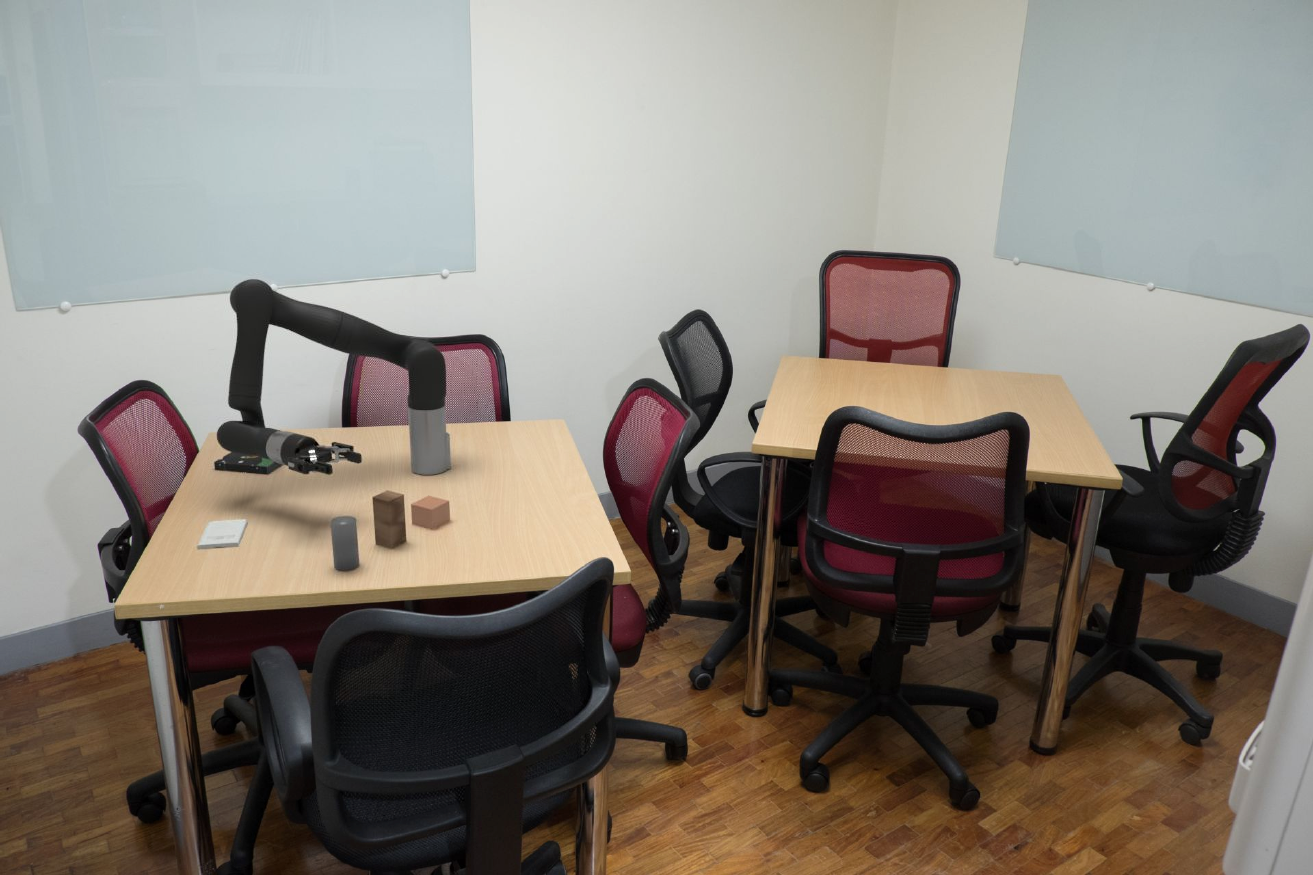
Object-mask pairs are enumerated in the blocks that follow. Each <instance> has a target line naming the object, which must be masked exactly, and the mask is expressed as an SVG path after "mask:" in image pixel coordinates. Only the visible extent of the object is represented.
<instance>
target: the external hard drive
mask: <svg viewBox="0 0 1313 875" xmlns="http://www.w3.org/2000/svg"><path fill="white" fill-rule="evenodd" d="M247 526H248V519H246V518H245V519H244V518H243V519H226V520H212V521H209V522H207V524H206V526H205V529H204V531H203V533H202V535H201V537H200V539H199V541H198V543H197V545H196V548H197V550H204V548H205V550H206V549H208V550H209V549H216V548H217V549H218V548H223V549H224V548H237V547H240V544H241V541H242V539H243V536H244V534H245V531H246V528H247Z"/></svg>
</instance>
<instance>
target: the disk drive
mask: <svg viewBox="0 0 1313 875" xmlns="http://www.w3.org/2000/svg"><path fill="white" fill-rule="evenodd" d="M213 465H214V466H213V467H214V471H221V472H233V473H243V472H244V474H246V473H247V474H255V475H267V476H268V475H270V474H272V473H273V472H275V471H277V470H278V469H279V468H281V467H282V466H283V465H282V464H279V463H277V462H275V461H272V460H268V459H265V458H262V457H259V456H255V455H248V454H240V453H234V452H228V454H225V455H223V457H222V458H221V459H219V458H218V459H217V460H215V461H214V462H213ZM245 472H246V473H245ZM271 472H272V473H271Z"/></svg>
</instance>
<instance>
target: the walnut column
mask: <svg viewBox="0 0 1313 875" xmlns="http://www.w3.org/2000/svg"><path fill="white" fill-rule="evenodd" d="M371 498H372V511H373V514H372V515H373V527H374V539H375V540H374V541H375V545H376V546H380V547H384V548H387V549H390V550H393V549H395V548H396V547H398V546H401V545H403V544H405V543H407V525H406V508H405V494H403V493H399V492H395V491H392V490H390V489H389V490H384V491H383V492H381V493H378V494H376V495H374V496H372V497H371Z"/></svg>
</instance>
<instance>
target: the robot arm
mask: <svg viewBox="0 0 1313 875" xmlns="http://www.w3.org/2000/svg"><path fill="white" fill-rule="evenodd" d="M229 303H230V306H231V308H232V310H233V312H234V313H235V314H236V328H237V330H236V341H235V342H236V343H235V347H234V348H235V349H234V355H233V358H232V364H231V369H230V376H229V384H228V385H229V387H228V395H227V396H228V398H227V404H228V407H229V408H231V409H232V410H235V411H238V412H240V417H241V420H227V421H225V422H223V423H222V424H221V425H220V426H219V427H218V428H217V431H216V440H217V442H218V444H219V446H220V447H221V448H222V449H224V450H225V451H227V452H229V453H231V452H234V453H240V454H248V455H255V456H259V457H262V458H265V459H268V460H272V461H275V462H277V463H279V464H282V466H286V467H287V468H288V470H290V471H292V472H297V473H300V474H302V475H309V474H310V472H312V473H321V474H325V475H328V476H330V475H333V465H332V464H333V463H334V464H335V463H337V464H338V463H339V462H340V461H347V462H351V463H354V464H358V465H359V464H361V463H362V462H363V461H362V460H363V459H362V454H361V453H360V452H356V451H355V449H354V448H355V447H354V445H352V444H351V445H350V444H346V443H341V442H336V441H332V442H331V444H330V445H331V446H326V445H320V444H319V442H318V441H317V440H316V438H314V437H311V436H308V435H304V434H301V433H297V432H292V431H284V430H280V429H276V428H272V427H266V424H265V419H264V414H263V408H262V404H261V401H262V394H263V393H262V392H263V379H264V365H265V363H264V362H265V349H266V343H267V338H268V330H269V327H270V325H271V326H275V327H279V328H281V329H285V330H287V331H290V332H292V333H294V334H297V335H299V336H301V337H303V338H305V339H307V340H310V341H312V342H314V343H316V344H320V345H322V346H323V347H326V348H328V349H332V350H335V351H339V352H341V353H344V354H348V355H353V356H358V357H365V358H373V359H379V360H383V361H385V362H387V363H391V364H392V365H396V366H397V367H400V368H402V369H404V370H406V371H407V372H408V373H407V374H408V395H407V409H408V410H407V411H408V412H407V413H408V415H407V416H408V427H409V428H408V430H409V448H410V450H409V452H410V465H411V466H410V468H411V471H412V473H414V474H416V475H421V476H422V475H423V476H424V475H425V476H429V475H430V476H431V475H437V474H442V473H444V472H446V471H447V470H450V469H452V463H451V462H452V461H451V460H452V459H451V437H450V436H451V435H450V433H448V432H447V416H446V415H447V414H446V396H447V366H446V365H447V364H446V360H445V357H444V354H443V353H442V352H441V350H439V349H438V347H437V346H436V345H434V343H432V342H429V341H428V340H423V339H420V338H415V337H410V336H407V335H403V334H399V333H395V332H392V331H390V330H388V329H386V328H383V327H381V326H379V325H377V324H376V323H375V324H374V323H373V322H370V321H368V320H366V319H363V318H360V317H358V316H356V315H353V314H351V313H347V312H345V311H342V310H339V309H335V308H333V307H328V306H324V305H319V304H315V303H310V302H304V301H301V300H300V301H299V300H298V299H294V298H291V297H289V296H286V295H285V294H282V293H280V292H277V291H275V290H274V289H272V287H271V285H269V284H268V282H266V281H264V280H262V279H257V278H255V279H254V278H251V279H250V278H249V279H246V280H243V281H241V282H239V283H238V284H236V285H235V286H234V287H233V288H232V290H231V291H230V295H229ZM333 455H334V456H335V457H334V458H333Z"/></svg>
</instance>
